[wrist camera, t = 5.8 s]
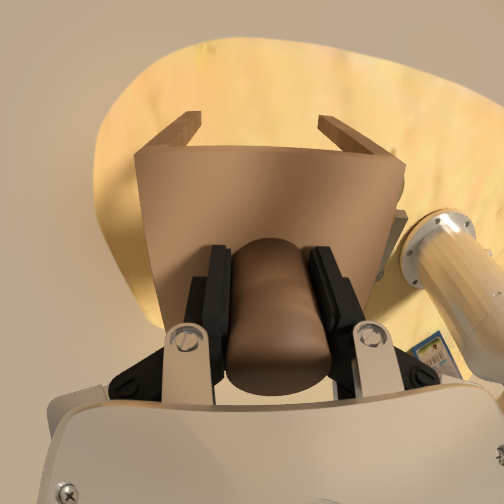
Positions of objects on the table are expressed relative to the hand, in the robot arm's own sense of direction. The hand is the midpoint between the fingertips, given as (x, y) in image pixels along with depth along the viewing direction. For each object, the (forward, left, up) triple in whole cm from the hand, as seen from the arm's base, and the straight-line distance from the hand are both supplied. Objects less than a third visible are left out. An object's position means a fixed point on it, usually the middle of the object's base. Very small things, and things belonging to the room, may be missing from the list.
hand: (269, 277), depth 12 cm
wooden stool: (0, 0, -11) cm, 11 cm away
